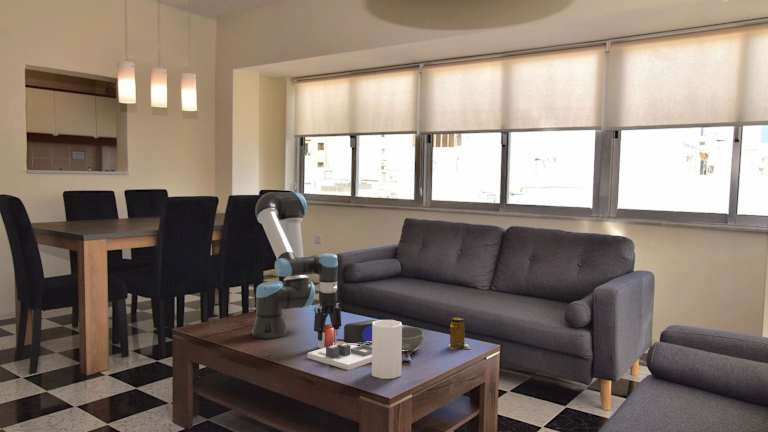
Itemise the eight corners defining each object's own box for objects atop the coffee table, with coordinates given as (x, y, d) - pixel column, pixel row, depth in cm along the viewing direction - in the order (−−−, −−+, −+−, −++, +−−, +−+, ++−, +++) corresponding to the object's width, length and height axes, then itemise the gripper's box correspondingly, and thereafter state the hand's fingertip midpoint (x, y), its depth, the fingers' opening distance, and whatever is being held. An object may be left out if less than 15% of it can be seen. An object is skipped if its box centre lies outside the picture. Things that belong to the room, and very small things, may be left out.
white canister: (366, 377, 200) (366, 325, 199) (377, 367, 210) (378, 318, 209) (395, 381, 196) (396, 328, 195) (406, 371, 206) (406, 321, 205)
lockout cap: (319, 346, 236) (319, 325, 236) (327, 344, 240) (327, 322, 239) (327, 349, 233) (327, 327, 232) (336, 346, 237) (336, 324, 236)
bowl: (373, 353, 228) (374, 334, 227) (388, 342, 244) (388, 324, 244) (416, 358, 222) (416, 338, 221) (428, 347, 238) (429, 328, 238)
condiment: (448, 344, 242) (448, 316, 242) (468, 344, 242) (468, 317, 242) (450, 349, 235) (450, 320, 234) (470, 349, 235) (471, 321, 234)
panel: (307, 357, 221) (307, 349, 221) (343, 346, 236) (343, 338, 236) (348, 370, 207) (348, 360, 207) (383, 357, 222) (383, 349, 222)
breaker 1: (325, 356, 216) (325, 346, 216) (331, 354, 219) (331, 344, 219) (333, 358, 214) (333, 348, 214) (338, 356, 216) (338, 346, 216)
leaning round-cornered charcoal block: (348, 348, 234) (348, 326, 234) (342, 345, 238) (343, 323, 238) (381, 342, 244) (381, 321, 243) (375, 340, 247) (375, 318, 247)
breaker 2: (337, 354, 219) (337, 344, 219) (342, 352, 222) (342, 342, 222) (344, 356, 217) (345, 346, 217) (350, 354, 219) (350, 344, 219)
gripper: (317, 295, 225) (316, 353, 227) (350, 289, 240) (350, 343, 241) (304, 293, 230) (304, 349, 231) (338, 287, 245) (337, 339, 246)
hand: (327, 345), depth 236 cm, fingers open, 6 cm apart
